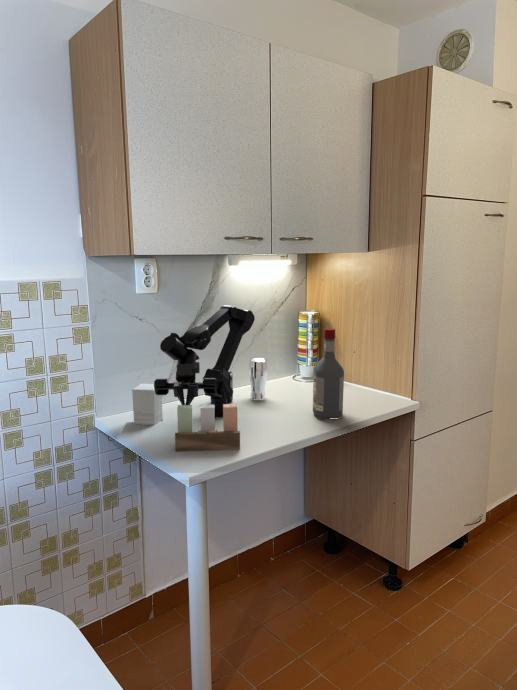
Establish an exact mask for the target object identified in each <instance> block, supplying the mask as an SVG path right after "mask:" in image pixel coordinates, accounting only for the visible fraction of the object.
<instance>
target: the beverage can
mask: <svg viewBox="0 0 517 690" xmlns="http://www.w3.org/2000/svg"><path fill="white" fill-rule="evenodd" d="M228 375H229V384H228V385H229V386H230V387H231V388H232V390H233V391H234V389H233V387H234V386H233V385H234V384H233V383H234V382H233V381H234V380H233V378H234V377H233V376H234V375H233V372H232V369H231V368H229V371H228ZM233 400H234V395H233V396H232V397H230V399H227V404H231V403H232V401H233Z"/></svg>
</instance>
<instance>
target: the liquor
mask: <svg viewBox="0 0 517 690" xmlns="http://www.w3.org/2000/svg"><path fill="white" fill-rule="evenodd" d="M323 334H324V335H323V338H324V346H323V347H324V350H323V354H322V355H323V356H322V358H321V359H320V360H319V361H318V362H317V363H316V364H315V365H314V367H313V377H312V378H313V381H312V382H313V383H312V384H313V386H312V413H313V414H315V415H314V416H315V417H316V418H317V419H318V418H321V419H320V420H322V419H330V418H339V417H341V416H343V412H344V385H345V371H344V368H343V366H342V365H341V364H340V363H339V361H338V360H337V358H336V355H335V339H336V328H327V327H326V328H324V333H323ZM341 418H342V417H341ZM339 419H340V418H339Z"/></svg>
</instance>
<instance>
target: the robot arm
mask: <svg viewBox="0 0 517 690" xmlns="http://www.w3.org/2000/svg"><path fill="white" fill-rule="evenodd" d="M219 308H220V309H218V310H217V311H216V312H215V313H214V314H212V315H211V317H209V318H207V319H206V320H205V322H203V323H202V324H200V325H199V326H195V327H192V328H190V329H188V330H186V331H185V332H184V334H183V335H181V336H179V334H178V333H176V332H171V333H170V335H168V336H166V337H164V339H163V340H161V342H160V343H159V344H160V347H159V348H160V350H161V351H162V352H163V353H164V354H165V355H167V356H168V357H169V358H170V359H171V360H173V361H176V362H177V363H176V371H175V381H173V382H169V380H168V378H155V379H154V381H153V384H154V389H155V394H156V395H162V396H167V395H169V393H170V390H172V391H173V396H174V397H175V398H177V399H178V401H179V403H180V405H192V404H191V403H192V402H193V400H194V399H195V398H197V397H198V396H199V390H203V393H204V395H205V396H206V397H210V405H215V417H223V404H228V403H227V399H230V397H232V396H233V397H234V389H233V390H232V388H231V387H230V386H229V385H228V384H229V375H228V371H229V369H231V366H232V364H233V361H234V358H235V355H236V353H237V351H238V348H239V346H240V344H241V341H242V338H243V336H244V335H245V334H246V333H247V332H249V331H250V329H251V328H252V326H253V324H254V322H255V320H256V319H255V314H254V313H253V311H252V310H250V309H241V308H239V307H236V306H234V305H221V306H220V307H219ZM227 322H228V328H229V331H228V333H227V335H226V338H225V341H224V344H223V345H222V348H221V350H220V353H219V355H218V358H217V360H216V362H215V365H214V366H213V367H212V368H207V369H206V370H205V373H204V376H203V377H202V382H196V376H197V375H196V374H200V371H201V370H200V369H201V368H200V365H201V364H200V362H199V361H197V360H200V357H199V354H197V352H196V351H197V350H198V351H203V350H205V349H206V348H208V347H207V346H208V345H209V344H210V343H211V341H212V337H213V335H215V333H216V332H218V331H219V330H220V329H221V328H222V327H223V326H224V325H226V324H227ZM195 350H196V351H195ZM184 390H187V391H186V399H185V394H184V393H185V392H184Z"/></svg>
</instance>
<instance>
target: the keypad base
mask: <svg viewBox="0 0 517 690" xmlns="http://www.w3.org/2000/svg"><path fill="white" fill-rule="evenodd" d="M174 442H175V444H174V449H175V452H202V451H203V452H204V451H205V452H206V451H232V450H233V451H235V450H236V451H237V450H238V451H239V450H241V431H240V430H238V431H223V430H222V431H221V430H220V431H218V430H217V429H215V430H209V432H207V430H205V431H201V430H197V431H192V432H178V431H177V432H174Z"/></svg>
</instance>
